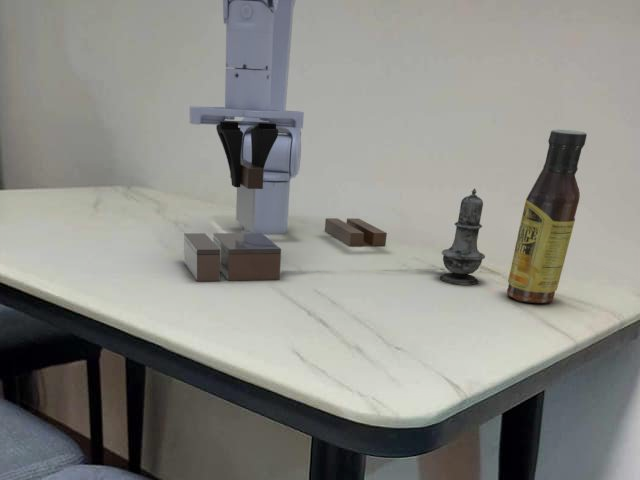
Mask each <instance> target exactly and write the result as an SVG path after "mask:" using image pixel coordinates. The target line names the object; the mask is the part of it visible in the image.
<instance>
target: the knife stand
mask: <svg viewBox="0 0 640 480" xmlns="http://www.w3.org/2000/svg"><path fill="white" fill-rule="evenodd" d="M324 232H325V233H326V234H329V235H330V236H331V237H334V238H335V239H336V240H338V241H340V242H341V243H343V244H345V245H346V246H348V247H349V248H351V247H352V248H355V247H356V248H361V247H363V248H364V247H367V248H368V247H369V248H370V247H371V248H373V247H386V245H387V244H386V243H387V235H388V233H387V232H386V231H384V230H382V229H380V228H378V227H376V226H375V225H373V224H370V223H368V222H367V221H364V220H363V219H361V218H348V217H347V218H346V221H343V220H341V219H340V218H338V217H337V218H332V217H331V218H329V217H328V218H327V217H326V218H325V222H324Z"/></svg>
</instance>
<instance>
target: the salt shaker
mask: <svg viewBox="0 0 640 480" xmlns="http://www.w3.org/2000/svg"><path fill="white" fill-rule="evenodd" d="M476 193H477V190H476V188H473V189H472V190H471V194H470V195H467V196H464V197H463V198H462V199H461V202H460V207H459V214H458V219H457V221H456V222H454V226H455V227H456V228H455V234H454V239H453V241H452V244H451V246H450V247H449V248H447V249H443V250H442V251H441V255H442V262H443V265H444V267H445V269H446V270H447V271H449V272H445V273H443V274H442V275H440V276H439V280H441V281H442V282H445V283H448V284H453V285H461V286H462V285H463V286H471V285H477V284H478V283H479V280H478V279H477V278H476V276H474V275H472V274H474V273H475V272H476V271H477V270H479V268H480V266H481V265H482V262H483V260H484V259H485V258H486V255H485V254H484V253H482V252H480V251H479V249H478V239H479V238H478V237H479V232H480V229H482V228H483V225H482V224H481V219H482V213H483V208H484V202H483V199H482V198H480V197H479V196H478V195H477V194H476Z"/></svg>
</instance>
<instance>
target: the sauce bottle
mask: <svg viewBox="0 0 640 480" xmlns="http://www.w3.org/2000/svg"><path fill="white" fill-rule="evenodd" d="M587 135H588V133H587V132H584V131H579V130H571V129H560V128H559V129H558V128H557V129H552V130H550V134H549V137H548V141H547V142H548V149H547V153H546V158H545V161H544V164H543V168H542V170H541V172H540V173H539V175H538V176H537V179H536V180H535V182H534V184H533V186H532V188H531V190H530V191H529V193H528V195H527V197H526V199H525V201H524V205H523V206H524V207H523V210H522V215H521V219H520V224H519V229H518V233H517V238H516V242H515V246H514V247H515V248H514V251H513V256H512V261H511V264H510V265H511V266H510V269H509V275H508V280H507V282H508V285H507V290H506V294H507V296H508V297H510V298H512V299H513V300H516V301H518V302H522V303H530V304H549V303H551V302H552V301H553V300H554V298H555V294H556V291H558V288H559V284H560V279H561V275H562V272H563V269H564V264H565V259H566V257H567V253H568V249H569V244H570V241H571V238H572V233H573V229H574V226H575V222H576V218H575V217H576V215H577V210H578V205H579V202H580V198H581V197H580V196H581V195H580V194H581V193H580V188H579V186H578V181H577V178H576V173H577V172H578V169H579V168H578V164H579V161H580V157H581V153H582V150H583V148H584V146H585V145H586V140H587Z"/></svg>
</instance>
